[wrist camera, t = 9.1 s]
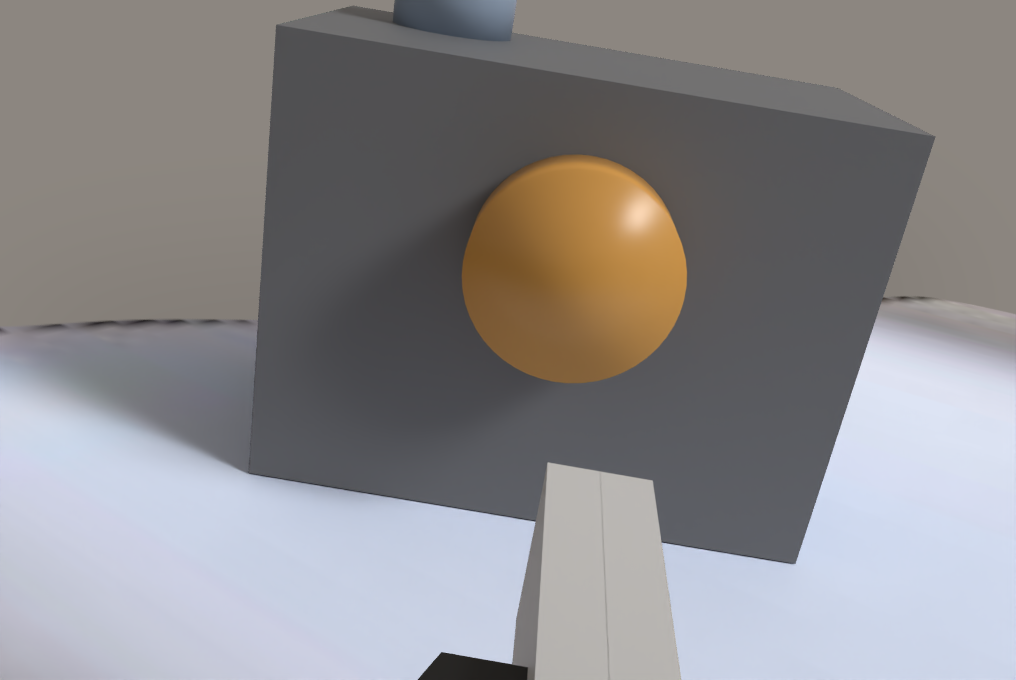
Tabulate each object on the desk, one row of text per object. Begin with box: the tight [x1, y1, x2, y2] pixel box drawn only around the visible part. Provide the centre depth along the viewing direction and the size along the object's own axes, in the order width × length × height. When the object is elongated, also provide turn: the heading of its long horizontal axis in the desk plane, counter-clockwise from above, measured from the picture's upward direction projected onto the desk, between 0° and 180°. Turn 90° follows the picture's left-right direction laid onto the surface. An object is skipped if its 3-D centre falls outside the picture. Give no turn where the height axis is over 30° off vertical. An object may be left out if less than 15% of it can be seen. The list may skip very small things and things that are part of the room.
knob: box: [462, 154, 687, 383], centre depth 29 cm, size 6×8×6 cm
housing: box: [249, 6, 935, 564], centre depth 33 cm, size 18×10×14 cm, turn 87°
